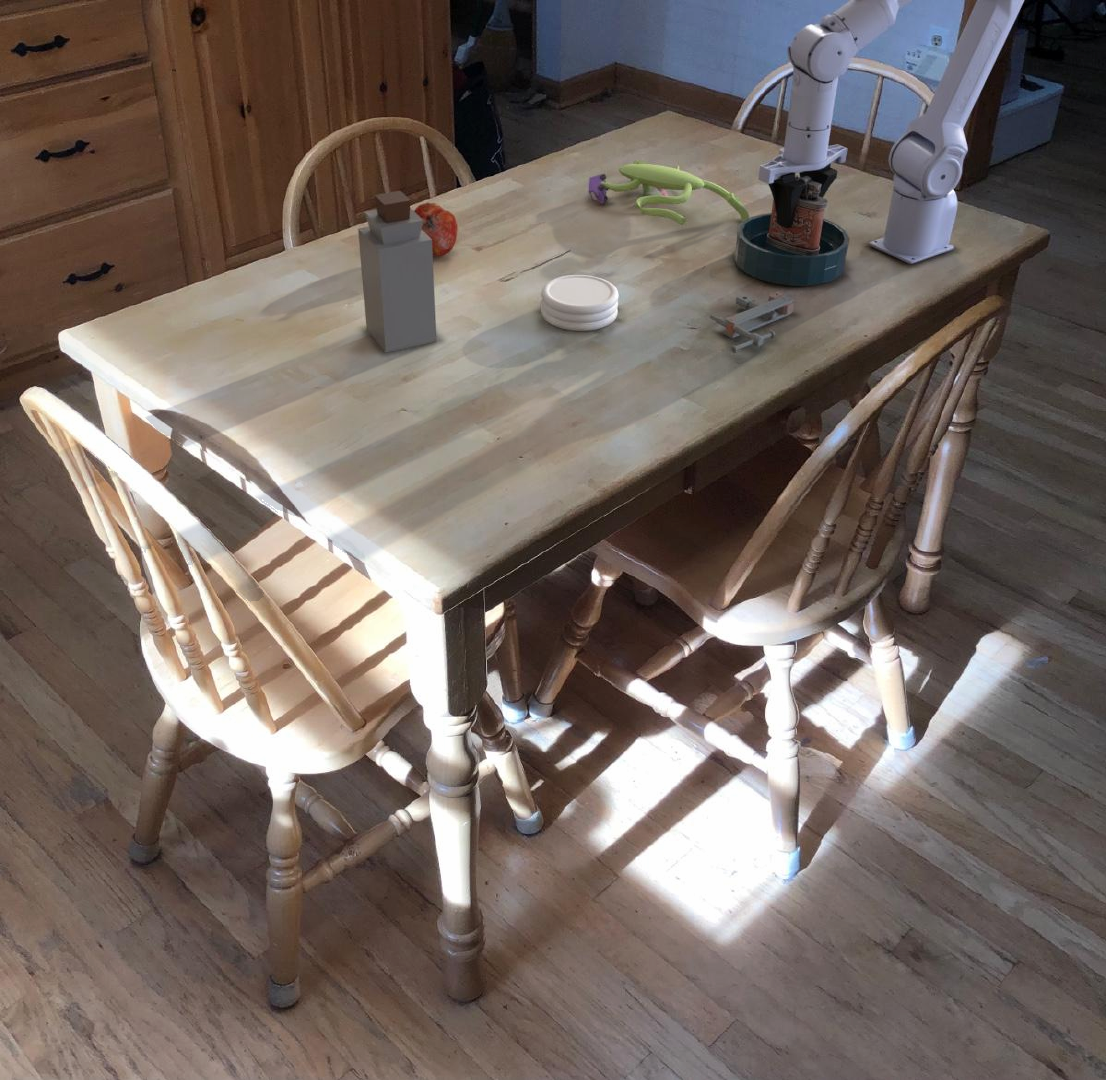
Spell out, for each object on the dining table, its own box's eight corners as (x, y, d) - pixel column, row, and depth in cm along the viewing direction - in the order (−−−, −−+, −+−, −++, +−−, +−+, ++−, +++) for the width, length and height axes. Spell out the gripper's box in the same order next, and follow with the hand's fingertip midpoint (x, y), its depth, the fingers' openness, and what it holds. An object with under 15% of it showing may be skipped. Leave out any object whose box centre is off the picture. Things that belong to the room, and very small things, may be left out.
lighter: (823, 251, 170) (835, 181, 164) (811, 258, 168) (822, 188, 162) (774, 235, 174) (784, 166, 168) (761, 242, 172) (770, 172, 166)
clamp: (762, 282, 163) (819, 309, 157) (760, 297, 164) (816, 325, 158) (680, 314, 155) (737, 344, 149) (679, 329, 156) (735, 360, 150)
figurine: (656, 252, 175) (659, 214, 172) (566, 188, 194) (566, 153, 190) (761, 228, 182) (765, 192, 179) (664, 169, 201) (666, 135, 197)
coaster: (529, 324, 157) (529, 299, 155) (556, 292, 164) (556, 268, 162) (603, 338, 154) (604, 313, 152) (627, 305, 162) (628, 280, 159)
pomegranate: (408, 258, 177) (390, 241, 167) (420, 209, 177) (403, 189, 167) (456, 270, 176) (442, 253, 166) (469, 220, 176) (455, 201, 166)
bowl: (789, 233, 181) (793, 204, 178) (866, 270, 171) (871, 240, 169) (712, 257, 174) (715, 227, 171) (788, 297, 164) (792, 266, 161)
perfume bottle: (386, 352, 150) (375, 212, 139) (366, 329, 155) (355, 192, 144) (436, 341, 153) (430, 203, 142) (415, 318, 158) (408, 183, 147)
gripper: (826, 105, 167) (811, 201, 175) (747, 125, 160) (736, 224, 168) (864, 120, 162) (848, 217, 170) (785, 141, 155) (772, 241, 164)
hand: (795, 222), depth 169 cm, fingers closed on lighter, 4 cm apart
